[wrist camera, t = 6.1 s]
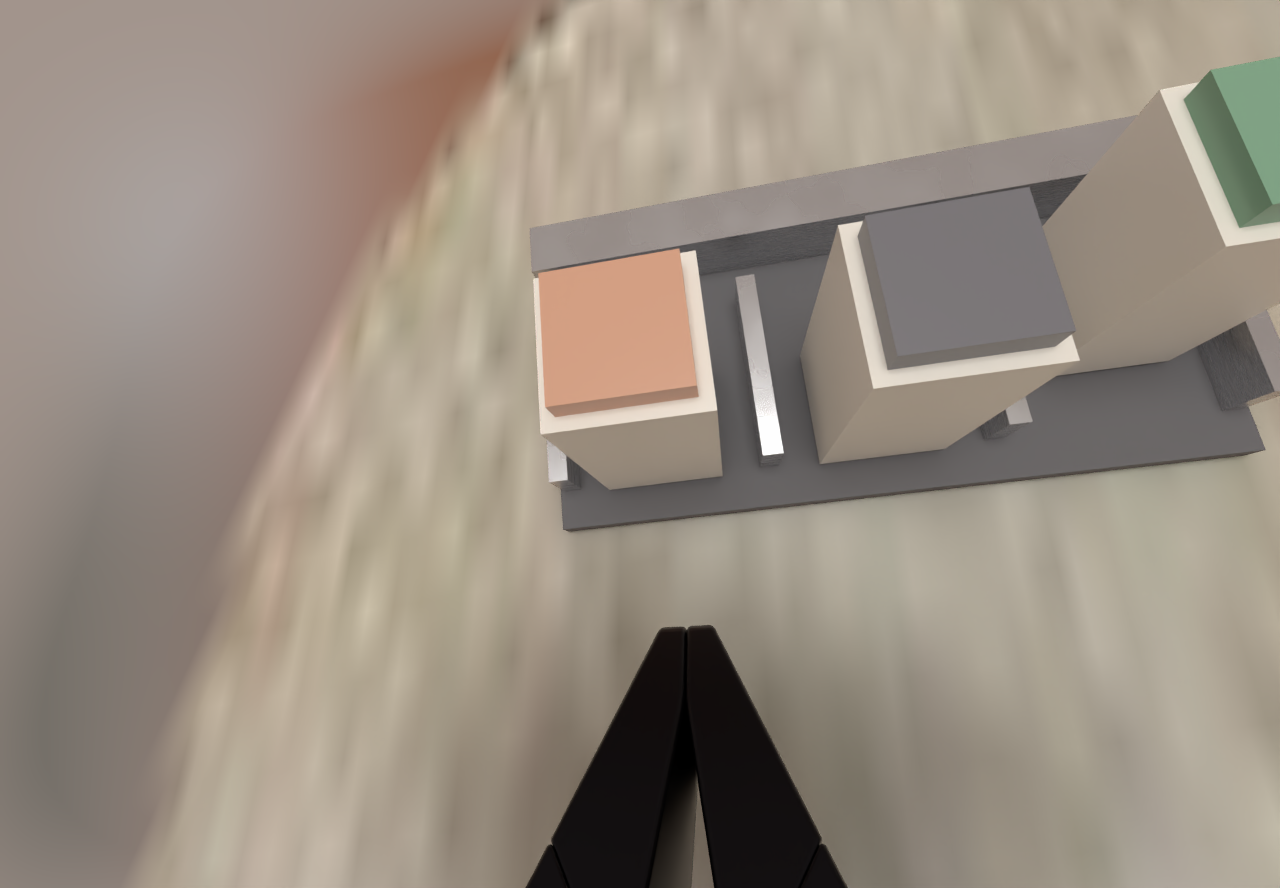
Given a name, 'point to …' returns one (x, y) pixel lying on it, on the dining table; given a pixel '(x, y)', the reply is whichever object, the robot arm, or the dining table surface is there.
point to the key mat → (1047, 447)
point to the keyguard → (815, 205)
